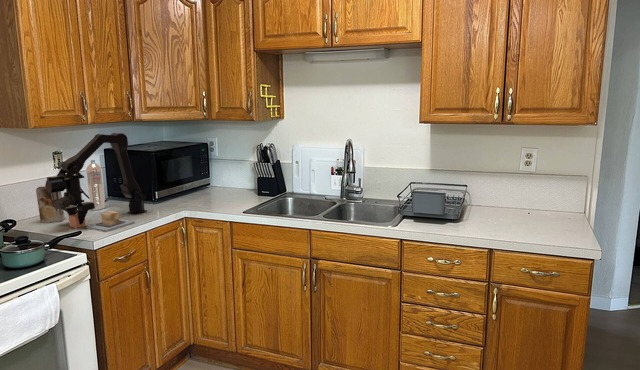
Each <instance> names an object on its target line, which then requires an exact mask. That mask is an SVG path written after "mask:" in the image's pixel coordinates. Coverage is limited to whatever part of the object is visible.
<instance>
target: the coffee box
mask: <svg viewBox="0 0 640 370" xmlns="http://www.w3.org/2000/svg"><path fill="white" fill-rule="evenodd" d="M35 193H36V194H35V195H36V200H37V206H38V213H39V221H40V224H45V223H46V224H47V223H48V224H49V223H57V222H58V223H59V222H63V221H64V220H65V218H66V217H65V212H64V210H61V209H57V208H56V206H55V204H54V202H55V201H56V200H58V199H60V198H62V197H63V195H62V191H61V192H55V193H48V192H47V190H46V187H45V185H44V186H38V187H37V188H35Z"/></svg>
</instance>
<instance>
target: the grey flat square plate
mask: <svg viewBox="0 0 640 370" xmlns="http://www.w3.org/2000/svg"><path fill="white" fill-rule="evenodd" d="M133 224H134V225H135V224H136V222H135V221H133V220H127V219H120V218H119V223H116V224H113V225H110V226H109V225H103V224H102V221H101V222H97V223H94V224H91V225H87V226H86V225H85V228H86V229H87V228H90V229H89V230H93V229H95V230H94V231H99V230H101V231H100V232H104V231H106V232H105V233H108V232H111V231H113V230H117V228H118V229H120V228H124V227H126V226H131V225H133ZM110 230H111V231H110ZM107 231H108V232H107Z"/></svg>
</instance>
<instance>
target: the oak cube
mask: <svg viewBox="0 0 640 370" xmlns="http://www.w3.org/2000/svg"><path fill="white" fill-rule="evenodd" d="M100 216H101V217H100V218H101V222H102V224H103V225H109V226H110V225H113V224H116V223H119V219H120V215H119V212H118V211H112V210H111V211H109V210H108V211H106V212H102V213H100Z"/></svg>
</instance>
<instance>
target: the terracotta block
mask: <svg viewBox="0 0 640 370" xmlns="http://www.w3.org/2000/svg"><path fill="white" fill-rule="evenodd" d="M68 220H69V221H68V223H69V227H71V228H75V229H77V227H78V228H81V227H84V225H85V226H86V218H85V219H84V221H83V224H81V225H80V224H79V220H78V215H77V214H74V215H70V216H69V215H68ZM80 226H81V227H80Z"/></svg>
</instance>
